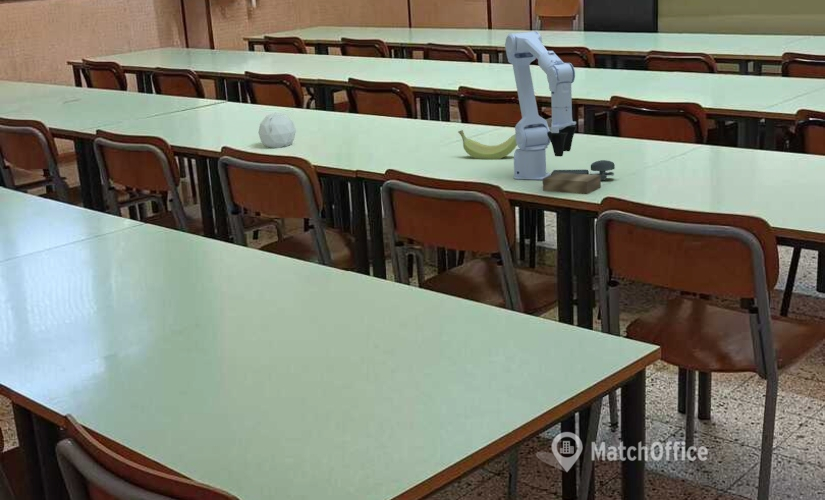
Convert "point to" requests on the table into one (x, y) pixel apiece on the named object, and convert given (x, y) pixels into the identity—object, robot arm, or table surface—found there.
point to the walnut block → (572, 183)
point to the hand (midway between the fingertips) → (562, 153)
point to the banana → (488, 148)
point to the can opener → (594, 169)
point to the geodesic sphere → (277, 131)
